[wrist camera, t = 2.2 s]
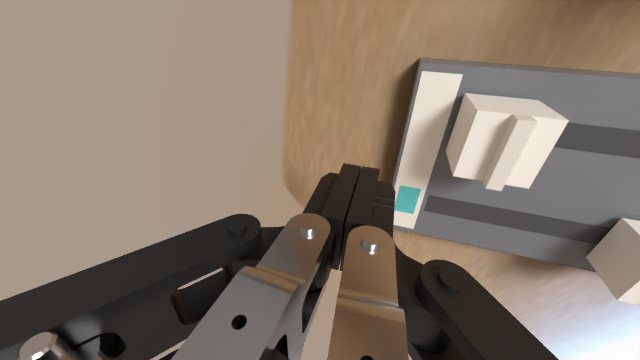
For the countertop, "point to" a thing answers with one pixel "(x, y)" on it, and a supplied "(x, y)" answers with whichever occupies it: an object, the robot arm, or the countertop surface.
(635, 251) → the tab
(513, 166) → the tab
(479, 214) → the switch panel
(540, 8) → the countertop surface
